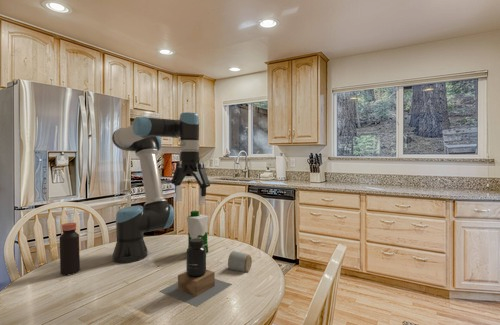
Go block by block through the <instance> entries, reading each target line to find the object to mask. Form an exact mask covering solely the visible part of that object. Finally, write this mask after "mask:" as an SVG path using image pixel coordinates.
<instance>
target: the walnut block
mask: <svg viewBox="0 0 500 325" xmlns="http://www.w3.org/2000/svg"><path fill="white" fill-rule="evenodd" d="M215 274H216V272H215V271H212V270H209V269H206V273H205V274H204V275H203V276H201V277H190V276H188V275H187V273H186V271H184V272H182V273H180V274H178V275H177V282H178V290H181V291H183V292H186V293H189V294H191V295H194V296H198V295H200V294H202V293H204V292H205V291H207V290H209V289H210V288H212V287H214V286H215V279H216V278H215Z"/></svg>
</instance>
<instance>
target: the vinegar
mask: <svg viewBox="0 0 500 325" xmlns="http://www.w3.org/2000/svg"><path fill="white" fill-rule="evenodd" d="M61 231H62V234H61V235H60V236H59V265H60V266H59V267H60V271H59V272H60V275H61V274H63V275H62V276H69V275H68V274H72V275H74V274H73V273H75V274H77V273H79V272H80V270H81V261H80V260H81V259H80V235H79V233H78V232H77V222H66V223H63V224H61ZM78 271H79V272H78ZM76 272H77V273H76Z"/></svg>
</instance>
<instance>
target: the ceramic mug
mask: <svg viewBox="0 0 500 325" xmlns="http://www.w3.org/2000/svg"><path fill="white" fill-rule="evenodd" d="M252 262H253V260H252V256H251V255H250V254H248V253H245V252H244V253H243V252H240V251H236V250H232V251H231V252H230V253H229V255H228V261H227V267H228V270H231V271H237V272H242V273H248V272H249V271H250V270H251V268H252Z"/></svg>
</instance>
